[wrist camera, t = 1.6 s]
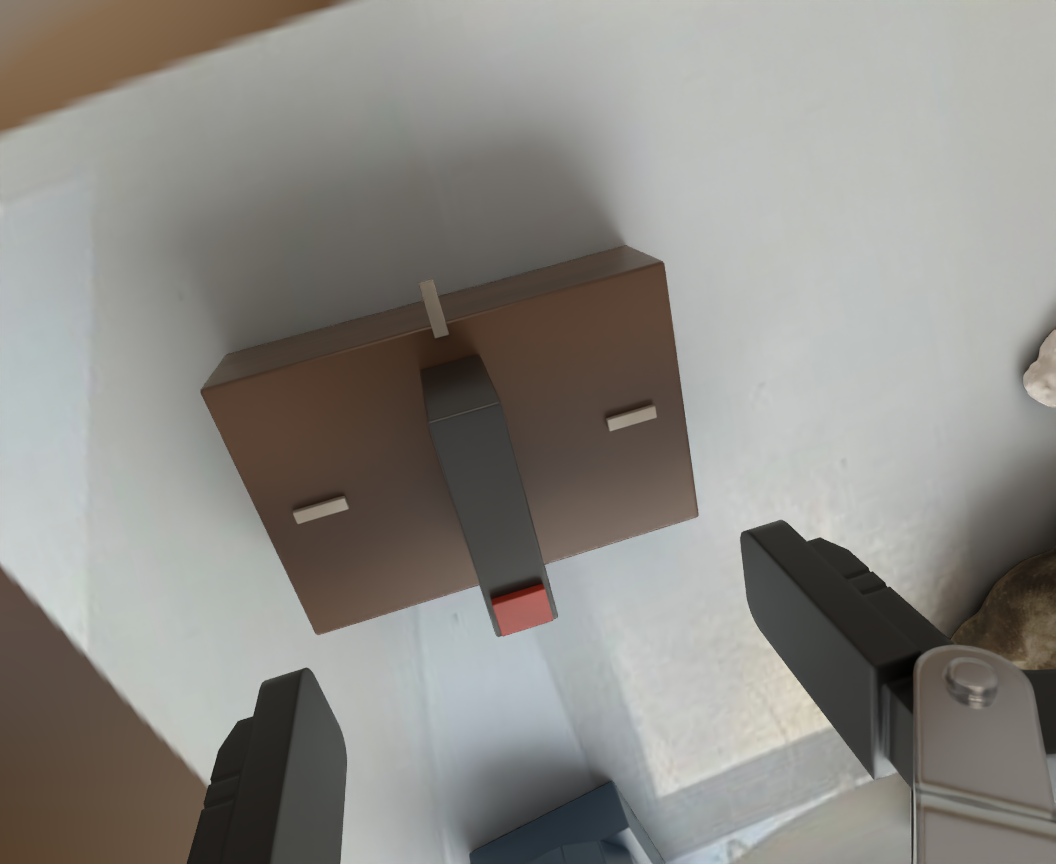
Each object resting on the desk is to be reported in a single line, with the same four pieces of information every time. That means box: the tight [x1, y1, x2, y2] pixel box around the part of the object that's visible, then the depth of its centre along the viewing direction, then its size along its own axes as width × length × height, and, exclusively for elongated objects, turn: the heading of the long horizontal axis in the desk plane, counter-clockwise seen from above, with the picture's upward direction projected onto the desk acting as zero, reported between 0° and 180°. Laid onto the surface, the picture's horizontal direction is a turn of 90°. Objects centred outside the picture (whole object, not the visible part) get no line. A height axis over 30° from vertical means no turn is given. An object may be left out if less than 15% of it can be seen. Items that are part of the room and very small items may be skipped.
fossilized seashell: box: [950, 549, 1056, 670], centre depth 27 cm, size 8×7×10 cm
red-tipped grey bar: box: [420, 354, 558, 637], centre depth 17 cm, size 6×2×4 cm, turn 13°
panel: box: [201, 246, 698, 635], centre depth 20 cm, size 10×12×3 cm
